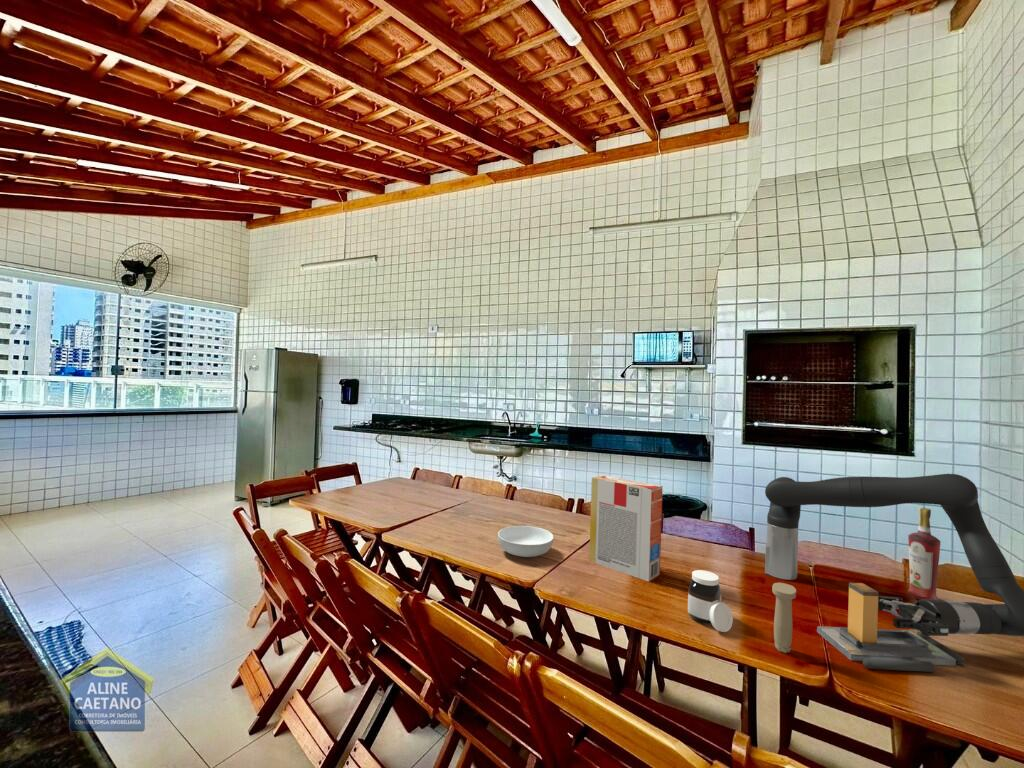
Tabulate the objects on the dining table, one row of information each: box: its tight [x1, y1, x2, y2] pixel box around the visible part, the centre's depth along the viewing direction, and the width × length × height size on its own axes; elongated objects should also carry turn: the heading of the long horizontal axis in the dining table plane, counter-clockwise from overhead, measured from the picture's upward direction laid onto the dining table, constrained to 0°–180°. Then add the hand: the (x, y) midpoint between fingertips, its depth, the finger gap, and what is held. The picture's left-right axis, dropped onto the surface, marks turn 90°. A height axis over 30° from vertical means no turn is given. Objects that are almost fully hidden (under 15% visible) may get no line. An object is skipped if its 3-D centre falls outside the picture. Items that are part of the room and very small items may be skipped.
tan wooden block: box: [847, 582, 880, 643], centre depth 109 cm, size 4×5×13 cm
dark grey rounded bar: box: [915, 631, 965, 665], centre depth 108 cm, size 11×2×2 cm, turn 178°
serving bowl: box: [497, 525, 555, 558], centre depth 164 cm, size 21×21×7 cm
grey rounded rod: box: [862, 659, 936, 673], centre depth 100 cm, size 15×2×2 cm, turn 88°
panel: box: [816, 625, 957, 667], centre depth 109 cm, size 24×12×3 cm, turn 88°
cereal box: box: [588, 474, 663, 583], centre depth 153 cm, size 23×8×30 cm, turn 46°
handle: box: [771, 582, 797, 654], centre depth 107 cm, size 5×6×15 cm
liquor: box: [907, 507, 941, 601], centre depth 136 cm, size 7×7×28 cm
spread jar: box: [687, 569, 733, 633], centre depth 119 cm, size 12×11×12 cm
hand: (880, 613), depth 109 cm, fingers open, 8 cm apart
